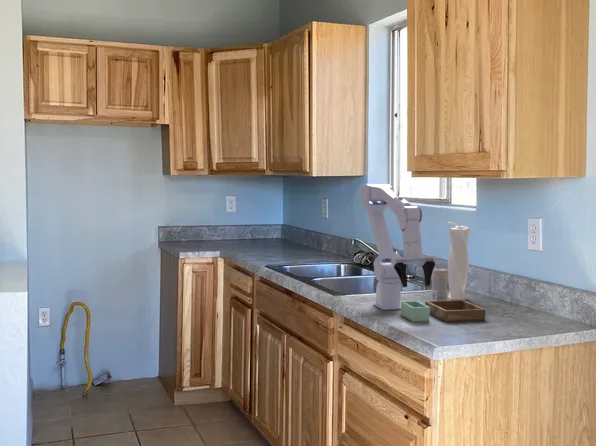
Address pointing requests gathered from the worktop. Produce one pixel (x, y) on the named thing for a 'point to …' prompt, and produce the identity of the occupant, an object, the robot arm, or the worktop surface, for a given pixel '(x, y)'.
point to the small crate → (415, 311)
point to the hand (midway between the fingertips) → (416, 286)
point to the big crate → (455, 311)
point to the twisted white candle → (458, 262)
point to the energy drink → (439, 284)
